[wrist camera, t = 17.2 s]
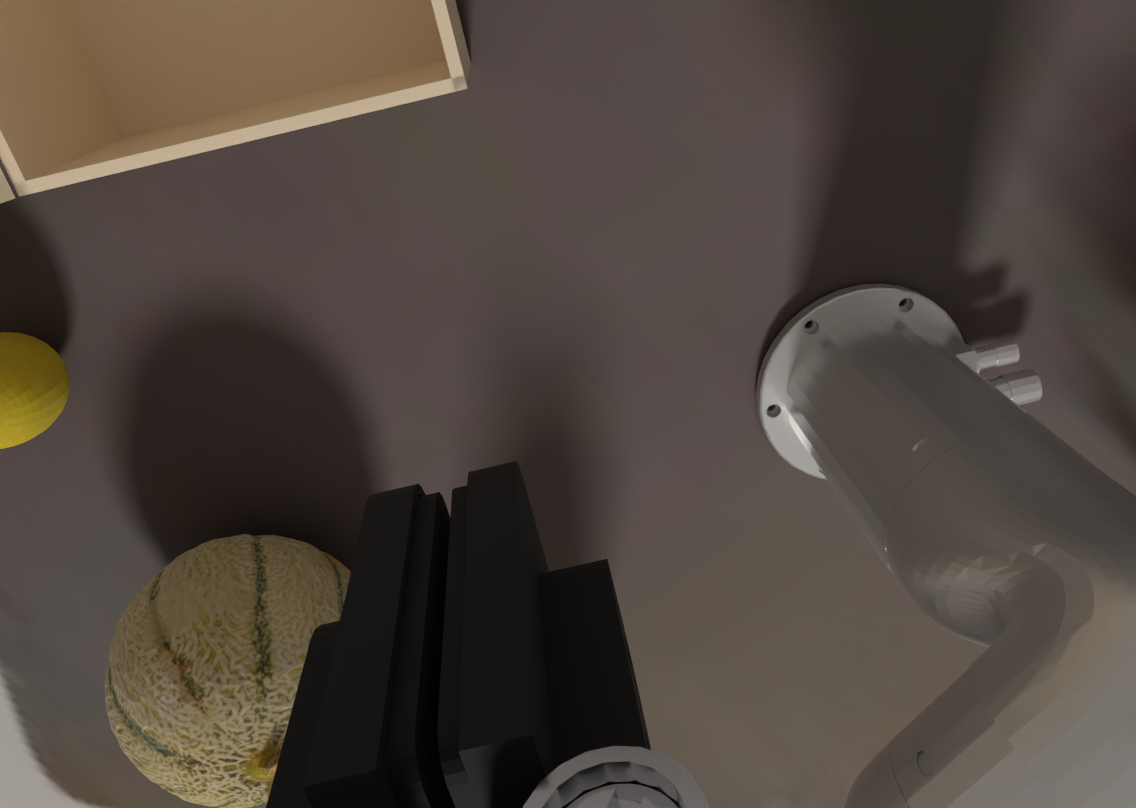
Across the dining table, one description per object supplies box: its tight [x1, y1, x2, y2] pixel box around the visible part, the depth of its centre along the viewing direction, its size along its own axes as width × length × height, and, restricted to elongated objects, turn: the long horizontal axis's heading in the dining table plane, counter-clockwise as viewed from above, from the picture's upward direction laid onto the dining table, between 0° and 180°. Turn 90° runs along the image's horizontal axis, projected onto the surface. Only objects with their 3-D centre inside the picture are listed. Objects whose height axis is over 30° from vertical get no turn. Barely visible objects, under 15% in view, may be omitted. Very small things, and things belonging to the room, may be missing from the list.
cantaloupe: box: [105, 534, 351, 808], centre depth 50 cm, size 15×15×15 cm
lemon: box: [0, 332, 70, 449], centre depth 45 cm, size 6×6×8 cm
